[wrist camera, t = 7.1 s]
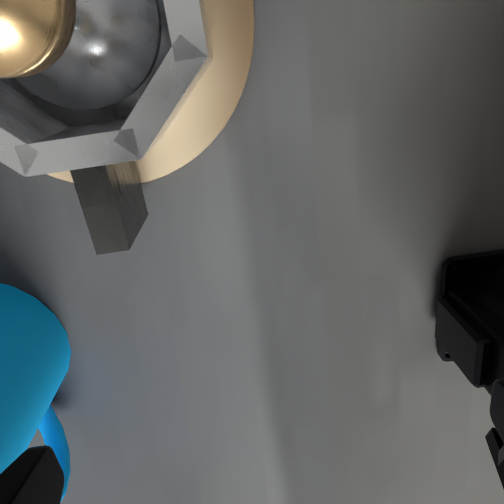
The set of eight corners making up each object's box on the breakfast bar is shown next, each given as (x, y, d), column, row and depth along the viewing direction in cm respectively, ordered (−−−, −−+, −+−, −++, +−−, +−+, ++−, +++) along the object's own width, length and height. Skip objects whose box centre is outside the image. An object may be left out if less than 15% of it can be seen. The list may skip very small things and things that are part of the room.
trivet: (226, -222, 14) (226, -232, 13) (271, 161, 19) (272, 164, 19) (-155, -164, 14) (-168, -171, 14) (-5, 203, 19) (-11, 206, 19)
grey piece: (180, -148, 14) (158, -249, 10) (235, 197, 19) (237, 237, 15) (-84, -107, 14) (-229, -189, 10) (40, 226, 19) (-18, 275, 15)
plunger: (139, -95, 14) (57, -247, 7) (176, 95, 16) (142, 114, 10) (-39, -68, 14) (-284, -194, 7) (26, 118, 16) (-112, 152, 10)
